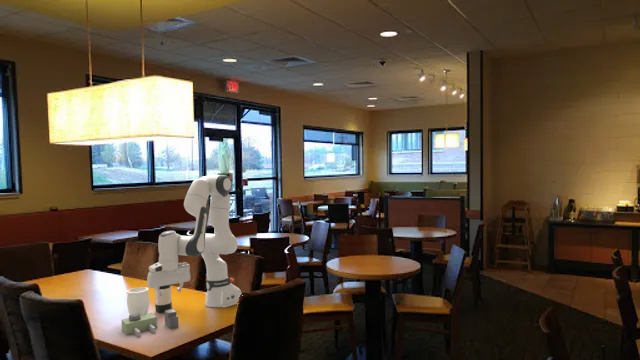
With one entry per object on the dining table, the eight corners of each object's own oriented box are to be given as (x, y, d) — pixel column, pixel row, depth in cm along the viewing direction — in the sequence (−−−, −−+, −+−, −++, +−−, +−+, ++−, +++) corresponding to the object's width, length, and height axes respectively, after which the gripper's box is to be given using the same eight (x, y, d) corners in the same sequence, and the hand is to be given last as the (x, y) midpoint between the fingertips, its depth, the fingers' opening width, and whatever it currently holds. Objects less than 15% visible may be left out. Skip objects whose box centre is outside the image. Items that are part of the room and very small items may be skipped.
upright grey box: (173, 322, 221) (172, 308, 220) (178, 326, 215) (177, 312, 215) (165, 324, 218) (164, 310, 218) (170, 328, 213) (169, 314, 212)
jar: (143, 313, 236) (142, 285, 235) (154, 317, 229) (152, 288, 229) (124, 319, 228) (122, 290, 227) (134, 323, 221) (132, 293, 220)
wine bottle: (175, 308, 243) (172, 253, 241) (165, 313, 235) (162, 257, 234) (162, 307, 245) (160, 253, 244) (152, 312, 238) (149, 256, 236)
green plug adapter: (151, 322, 222) (151, 308, 221) (162, 331, 210) (161, 316, 209) (122, 330, 213) (121, 315, 213) (130, 339, 201) (130, 323, 201)
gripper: (187, 260, 224) (188, 288, 225) (145, 267, 212) (146, 296, 212) (192, 262, 219) (193, 290, 220) (149, 269, 207) (150, 299, 207)
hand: (169, 293), depth 216 cm, fingers open, 8 cm apart
